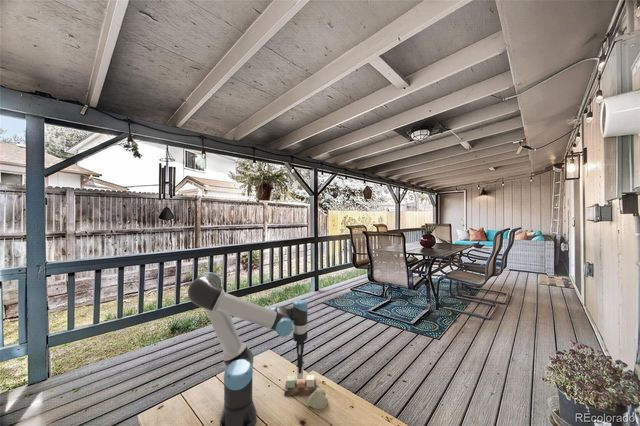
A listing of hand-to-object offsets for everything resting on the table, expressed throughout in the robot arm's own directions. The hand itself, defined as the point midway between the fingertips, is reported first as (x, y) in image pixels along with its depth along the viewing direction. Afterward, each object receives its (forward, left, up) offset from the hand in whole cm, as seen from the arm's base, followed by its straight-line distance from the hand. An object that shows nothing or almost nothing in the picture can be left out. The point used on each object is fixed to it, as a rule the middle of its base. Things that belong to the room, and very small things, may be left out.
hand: (300, 377), depth 125 cm
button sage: (-5, 0, -4) cm, 6 cm away
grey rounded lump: (+9, -10, -6) cm, 15 cm away
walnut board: (0, 0, -6) cm, 6 cm away
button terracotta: (0, 0, -5) cm, 5 cm away
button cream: (+5, 0, -4) cm, 6 cm away
